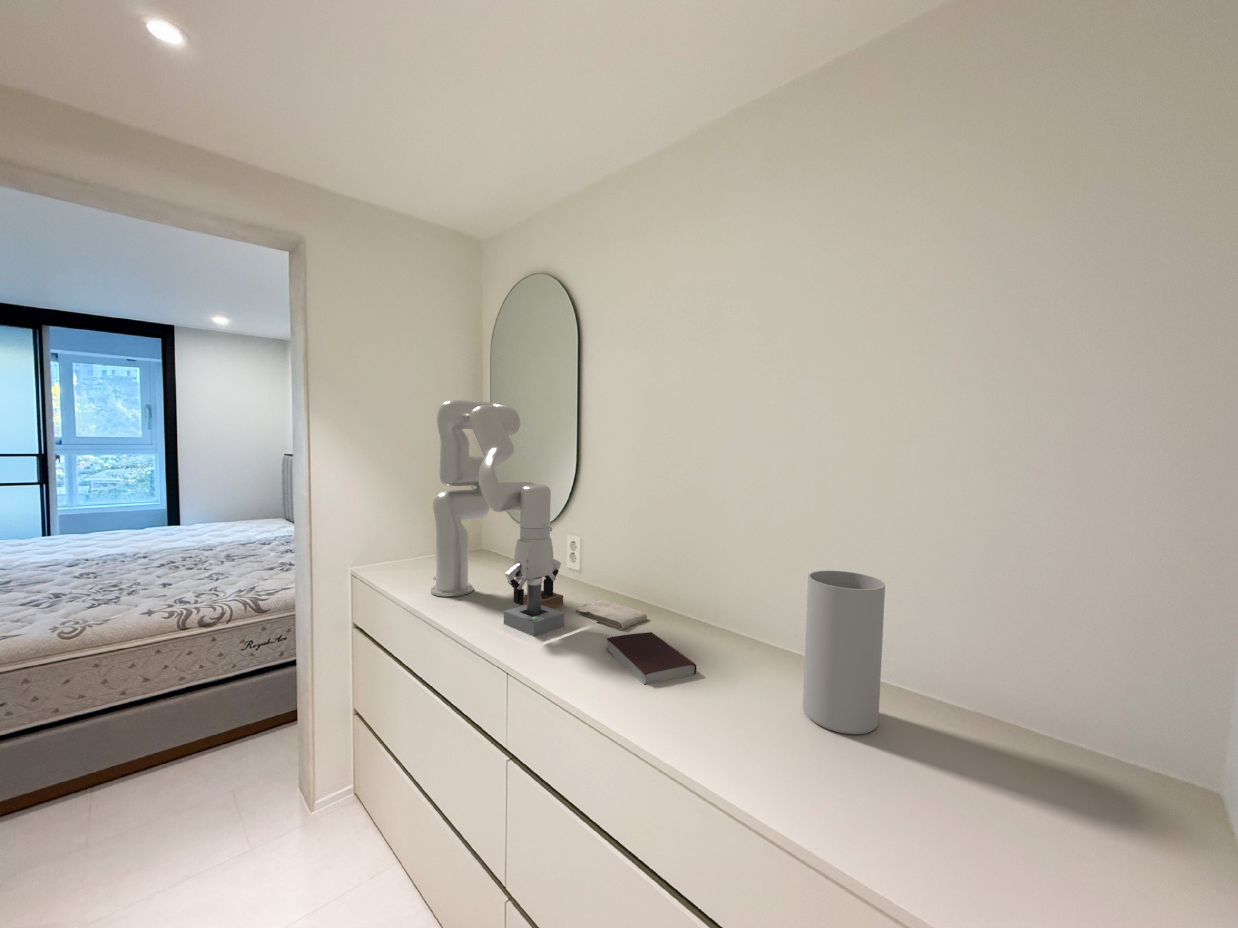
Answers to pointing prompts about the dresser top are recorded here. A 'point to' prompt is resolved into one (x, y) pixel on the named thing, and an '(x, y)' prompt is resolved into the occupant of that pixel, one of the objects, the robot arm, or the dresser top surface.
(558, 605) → the holster
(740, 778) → the dresser top surface
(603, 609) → the washcloth
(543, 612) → the port
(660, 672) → the book
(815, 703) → the cylinder vase
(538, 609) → the grey and white cylinder
